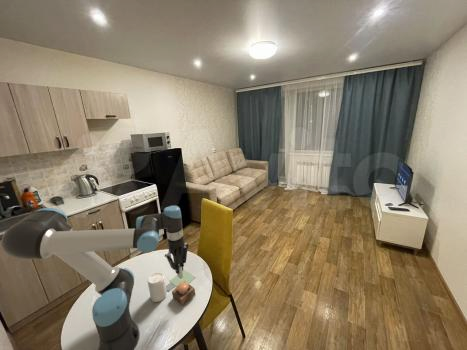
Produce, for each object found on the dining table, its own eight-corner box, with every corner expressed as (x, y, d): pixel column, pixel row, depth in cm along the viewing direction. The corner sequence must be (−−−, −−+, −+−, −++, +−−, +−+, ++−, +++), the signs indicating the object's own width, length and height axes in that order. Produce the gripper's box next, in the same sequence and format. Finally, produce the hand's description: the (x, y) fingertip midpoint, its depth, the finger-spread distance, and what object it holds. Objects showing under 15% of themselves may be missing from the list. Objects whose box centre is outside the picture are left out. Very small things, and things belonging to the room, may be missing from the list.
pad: (180, 290, 108) (180, 289, 108) (169, 281, 115) (169, 280, 114) (195, 277, 116) (195, 277, 116) (184, 269, 123) (184, 269, 123)
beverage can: (169, 290, 108) (166, 272, 105) (162, 303, 100) (159, 284, 97) (155, 289, 109) (152, 272, 106) (148, 302, 101) (144, 283, 98)
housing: (182, 306, 98) (181, 299, 97) (172, 298, 103) (171, 291, 102) (195, 295, 104) (194, 288, 103) (185, 287, 109) (184, 281, 108)
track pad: (168, 291, 107) (168, 291, 107) (164, 287, 110) (164, 287, 110) (175, 286, 111) (175, 286, 110) (170, 282, 113) (170, 282, 113)
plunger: (183, 302, 99) (181, 293, 98) (176, 296, 103) (174, 287, 101) (192, 294, 104) (190, 285, 102) (185, 289, 108) (183, 280, 106)
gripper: (168, 246, 87) (173, 288, 93) (190, 233, 97) (194, 272, 103) (159, 240, 92) (165, 281, 98) (181, 228, 101) (185, 266, 107)
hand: (180, 277), depth 100 cm, fingers closed
